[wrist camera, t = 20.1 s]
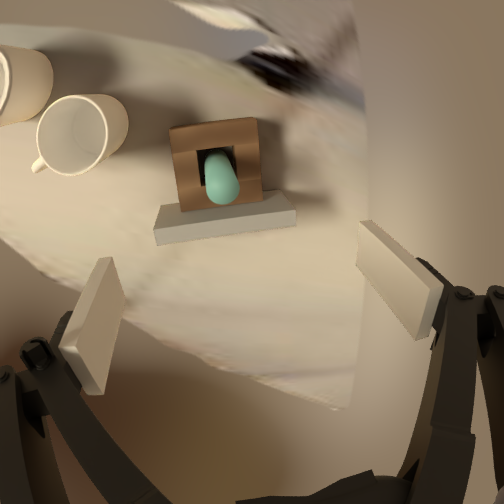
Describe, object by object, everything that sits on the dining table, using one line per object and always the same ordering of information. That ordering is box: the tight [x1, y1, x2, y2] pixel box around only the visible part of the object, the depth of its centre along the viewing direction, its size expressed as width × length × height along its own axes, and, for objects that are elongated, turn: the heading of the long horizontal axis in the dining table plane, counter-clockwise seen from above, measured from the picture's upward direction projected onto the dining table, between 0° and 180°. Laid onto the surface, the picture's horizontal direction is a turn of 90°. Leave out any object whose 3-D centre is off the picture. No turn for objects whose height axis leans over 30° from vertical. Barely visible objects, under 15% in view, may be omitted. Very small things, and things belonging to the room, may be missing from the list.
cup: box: [32, 94, 129, 176], centre depth 31 cm, size 8×12×10 cm
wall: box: [153, 190, 296, 246], centre depth 39 cm, size 2×16×8 cm, turn 95°
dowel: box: [204, 149, 240, 205], centre depth 34 cm, size 3×3×13 cm
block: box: [169, 117, 263, 212], centre depth 38 cm, size 10×10×4 cm
